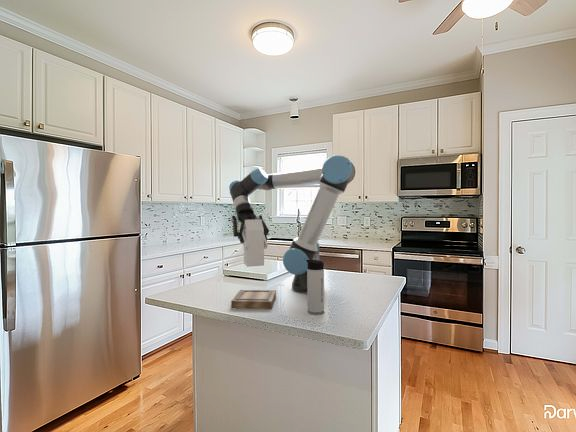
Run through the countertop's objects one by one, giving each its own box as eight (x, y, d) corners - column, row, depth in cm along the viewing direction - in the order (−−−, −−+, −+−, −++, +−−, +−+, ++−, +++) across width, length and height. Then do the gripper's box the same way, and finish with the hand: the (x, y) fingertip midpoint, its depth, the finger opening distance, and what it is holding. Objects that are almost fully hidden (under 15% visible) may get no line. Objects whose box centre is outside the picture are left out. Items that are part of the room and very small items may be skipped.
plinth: (275, 296, 136) (275, 289, 136) (271, 309, 120) (271, 300, 120) (240, 296, 137) (240, 289, 137) (231, 308, 121) (231, 300, 121)
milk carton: (264, 265, 126) (263, 219, 126) (247, 267, 124) (246, 220, 123) (260, 262, 133) (259, 219, 132) (243, 264, 131) (243, 219, 130)
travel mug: (305, 309, 119) (305, 258, 119) (322, 309, 120) (322, 258, 119) (307, 315, 113) (307, 261, 112) (325, 314, 114) (325, 261, 113)
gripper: (262, 213, 146) (277, 251, 132) (219, 214, 137) (229, 255, 123) (266, 201, 141) (282, 240, 127) (222, 202, 132) (233, 243, 118)
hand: (256, 247), depth 125 cm, fingers closed on milk carton, 8 cm apart
